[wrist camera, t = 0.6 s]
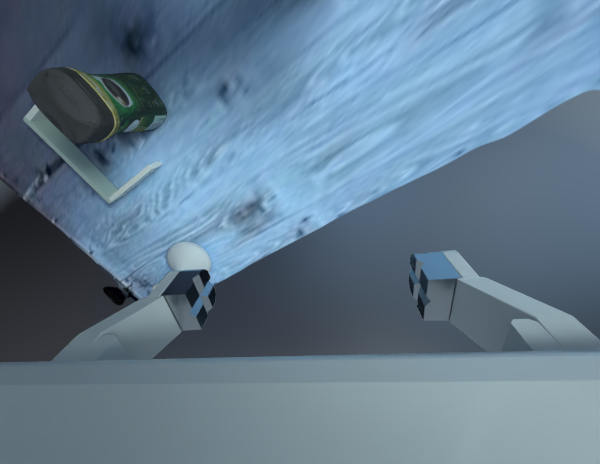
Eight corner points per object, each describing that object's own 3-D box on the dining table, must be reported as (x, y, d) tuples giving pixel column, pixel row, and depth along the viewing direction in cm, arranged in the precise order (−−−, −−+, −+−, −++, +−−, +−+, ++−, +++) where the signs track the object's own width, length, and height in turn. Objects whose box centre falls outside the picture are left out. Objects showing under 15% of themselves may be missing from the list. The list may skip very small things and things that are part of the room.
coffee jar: (111, 92, 49) (7, 91, 33) (137, 66, 47) (39, 50, 30) (149, 137, 53) (72, 156, 36) (175, 114, 50) (105, 124, 34)
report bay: (81, 72, 48) (62, 70, 44) (162, 164, 55) (151, 169, 52) (42, 117, 53) (22, 119, 49) (121, 197, 60) (109, 204, 56)
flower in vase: (195, 280, 71) (138, 364, 49) (162, 253, 67) (84, 330, 45) (226, 257, 66) (179, 338, 44) (192, 226, 62) (122, 298, 40)
